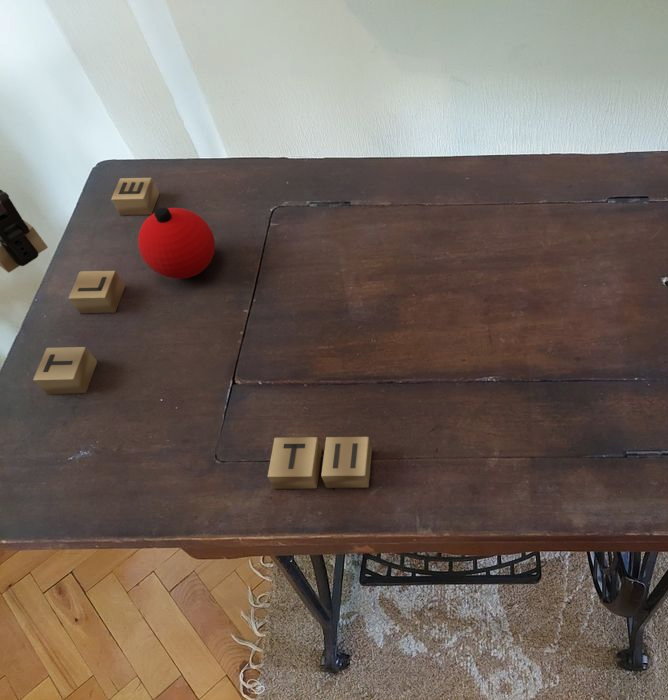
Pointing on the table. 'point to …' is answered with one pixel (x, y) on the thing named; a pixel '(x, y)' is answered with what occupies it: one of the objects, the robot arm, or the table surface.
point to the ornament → (176, 243)
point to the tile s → (8, 263)
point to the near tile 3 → (346, 462)
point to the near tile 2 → (295, 463)
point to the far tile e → (135, 196)
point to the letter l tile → (97, 292)
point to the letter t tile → (65, 370)
